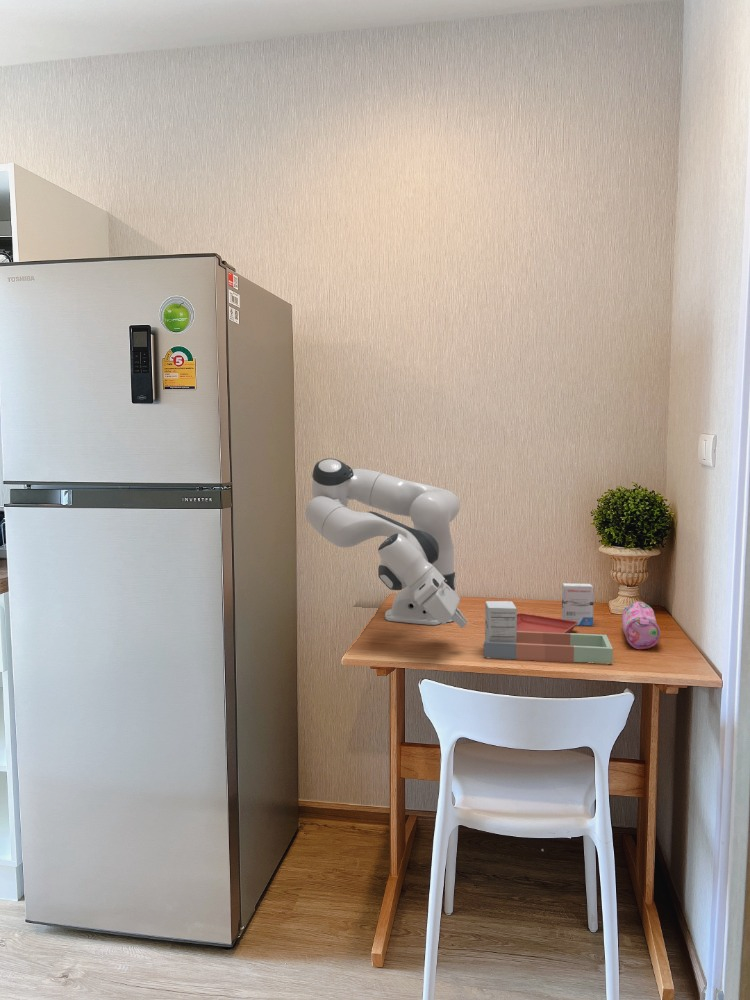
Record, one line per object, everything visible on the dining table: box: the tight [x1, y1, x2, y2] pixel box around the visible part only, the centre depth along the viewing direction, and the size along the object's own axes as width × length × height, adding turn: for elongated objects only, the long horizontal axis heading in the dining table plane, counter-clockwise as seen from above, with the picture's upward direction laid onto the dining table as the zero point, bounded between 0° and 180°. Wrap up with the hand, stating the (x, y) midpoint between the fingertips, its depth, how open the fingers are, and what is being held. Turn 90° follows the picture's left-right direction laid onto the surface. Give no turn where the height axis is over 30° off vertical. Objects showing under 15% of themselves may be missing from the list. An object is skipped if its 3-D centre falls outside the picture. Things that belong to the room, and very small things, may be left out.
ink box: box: [561, 582, 595, 627], centre depth 221 cm, size 8×5×12 cm, turn 84°
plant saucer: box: [517, 612, 578, 633], centre depth 210 cm, size 18×18×3 cm
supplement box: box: [484, 600, 518, 643], centre depth 194 cm, size 7×7×13 cm
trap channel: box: [483, 631, 614, 664], centre depth 192 cm, size 31×12×4 cm, turn 80°
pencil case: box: [621, 601, 661, 650], centre depth 204 cm, size 21×9×9 cm, turn 163°
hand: (464, 625), depth 193 cm, fingers closed
